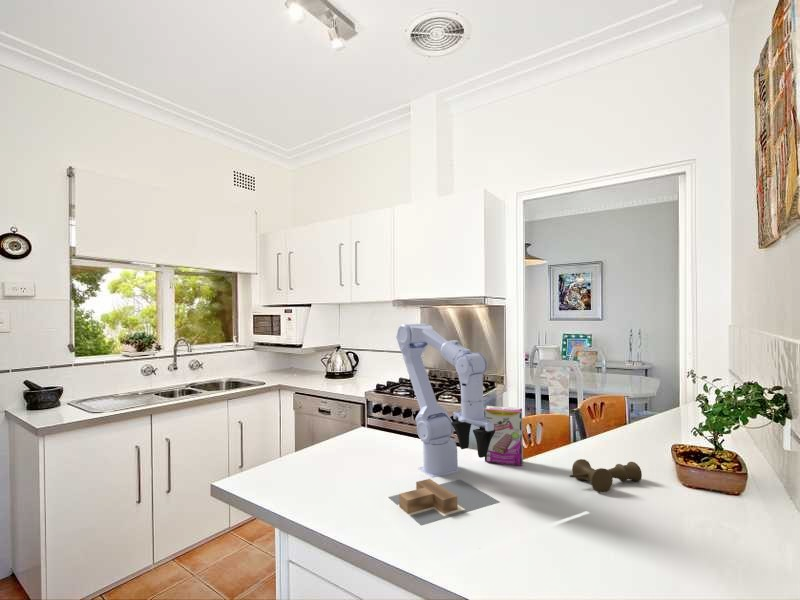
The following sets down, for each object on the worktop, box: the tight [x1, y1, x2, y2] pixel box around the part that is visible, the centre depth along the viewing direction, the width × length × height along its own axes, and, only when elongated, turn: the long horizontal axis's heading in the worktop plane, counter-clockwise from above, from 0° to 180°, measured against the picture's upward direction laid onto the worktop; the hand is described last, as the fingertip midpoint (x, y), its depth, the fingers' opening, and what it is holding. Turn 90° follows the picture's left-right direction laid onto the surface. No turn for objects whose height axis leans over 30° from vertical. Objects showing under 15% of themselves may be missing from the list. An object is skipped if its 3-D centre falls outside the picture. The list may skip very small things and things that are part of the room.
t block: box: [398, 478, 458, 515], centre depth 100 cm, size 11×12×3 cm
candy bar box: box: [483, 405, 524, 467], centre depth 129 cm, size 11×5×16 cm, turn 71°
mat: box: [388, 479, 500, 526], centre depth 102 cm, size 22×16×1 cm
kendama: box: [569, 458, 643, 493], centre depth 111 cm, size 6×10×20 cm
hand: (473, 452), depth 110 cm, fingers open, 7 cm apart
